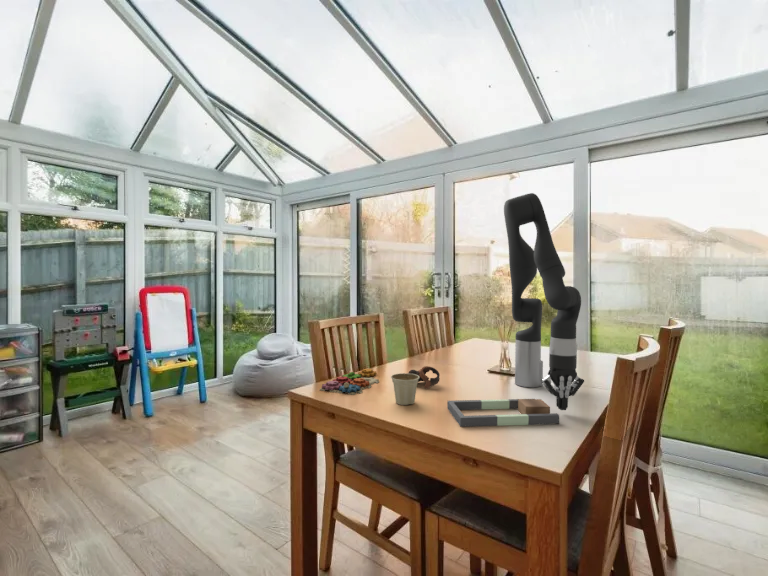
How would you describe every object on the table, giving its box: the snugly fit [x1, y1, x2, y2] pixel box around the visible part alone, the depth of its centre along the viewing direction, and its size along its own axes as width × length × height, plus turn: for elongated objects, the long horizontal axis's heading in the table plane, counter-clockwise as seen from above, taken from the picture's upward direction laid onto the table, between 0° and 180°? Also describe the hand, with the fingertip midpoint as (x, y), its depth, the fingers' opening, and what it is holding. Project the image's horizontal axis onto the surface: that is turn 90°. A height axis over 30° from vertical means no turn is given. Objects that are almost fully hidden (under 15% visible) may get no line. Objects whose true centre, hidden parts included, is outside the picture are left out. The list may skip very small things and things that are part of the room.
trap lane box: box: [446, 398, 560, 428], centre depth 118 cm, size 28×15×2 cm, turn 95°
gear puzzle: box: [319, 368, 380, 396], centre depth 155 cm, size 31×16×4 cm, turn 156°
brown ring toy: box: [408, 365, 441, 390], centre depth 150 cm, size 12×10×8 cm
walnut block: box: [517, 398, 551, 414], centre depth 119 cm, size 7×7×4 cm
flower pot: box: [390, 372, 419, 406], centre depth 131 cm, size 9×9×9 cm
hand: (561, 409), depth 120 cm, fingers closed
